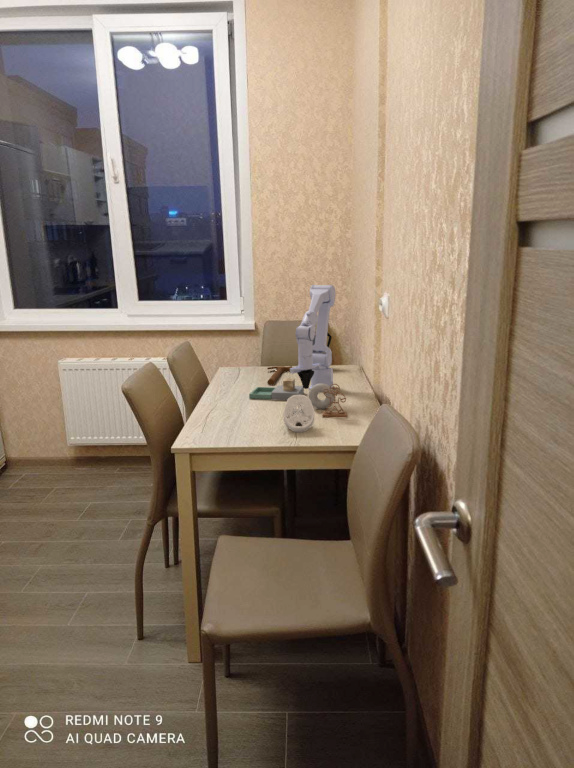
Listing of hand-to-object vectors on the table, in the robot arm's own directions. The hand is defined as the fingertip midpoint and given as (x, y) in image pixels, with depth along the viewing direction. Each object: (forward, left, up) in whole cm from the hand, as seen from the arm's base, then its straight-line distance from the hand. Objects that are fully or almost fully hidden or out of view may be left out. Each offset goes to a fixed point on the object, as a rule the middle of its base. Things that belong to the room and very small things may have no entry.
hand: (305, 388), depth 228 cm
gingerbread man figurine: (-15, +24, -4) cm, 29 cm away
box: (+18, 0, -4) cm, 18 cm away
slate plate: (+7, 0, -4) cm, 8 cm away
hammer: (+21, -33, -4) cm, 39 cm away
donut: (-9, +16, -4) cm, 19 cm away
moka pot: (+5, -56, -4) cm, 56 cm away
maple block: (+7, 0, -1) cm, 7 cm away
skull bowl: (-5, +39, -4) cm, 40 cm away
